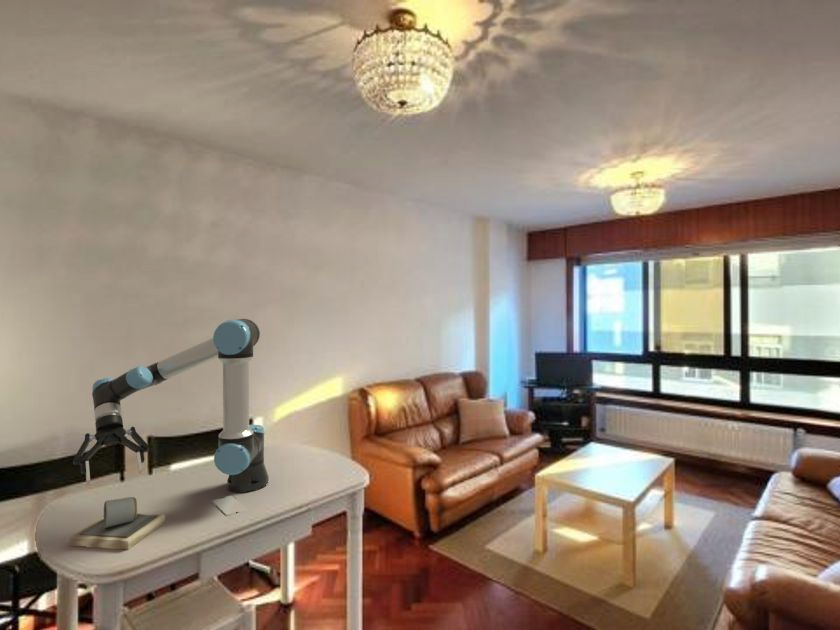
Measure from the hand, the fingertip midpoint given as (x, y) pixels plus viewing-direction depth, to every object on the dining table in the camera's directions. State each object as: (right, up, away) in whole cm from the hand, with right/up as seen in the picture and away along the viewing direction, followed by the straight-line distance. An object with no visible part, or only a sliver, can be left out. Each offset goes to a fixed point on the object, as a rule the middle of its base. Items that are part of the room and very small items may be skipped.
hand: (115, 476), depth 141 cm
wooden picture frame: (+4, -16, -4) cm, 17 cm away
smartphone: (+29, -16, +16) cm, 37 cm away
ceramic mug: (+3, -13, -3) cm, 14 cm away
